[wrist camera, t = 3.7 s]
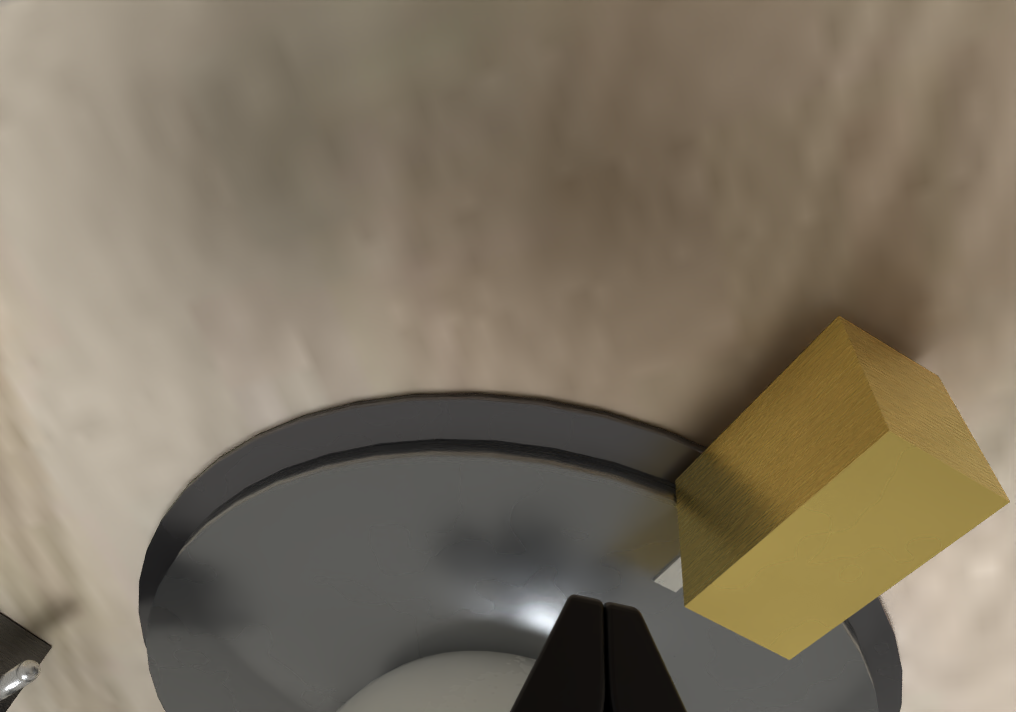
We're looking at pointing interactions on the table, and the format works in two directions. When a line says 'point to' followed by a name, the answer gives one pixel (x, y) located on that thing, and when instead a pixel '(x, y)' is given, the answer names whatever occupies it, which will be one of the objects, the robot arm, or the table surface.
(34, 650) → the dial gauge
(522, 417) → the turntable base
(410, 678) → the lidded jar
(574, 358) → the table surface
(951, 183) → the table surface
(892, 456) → the turntable
